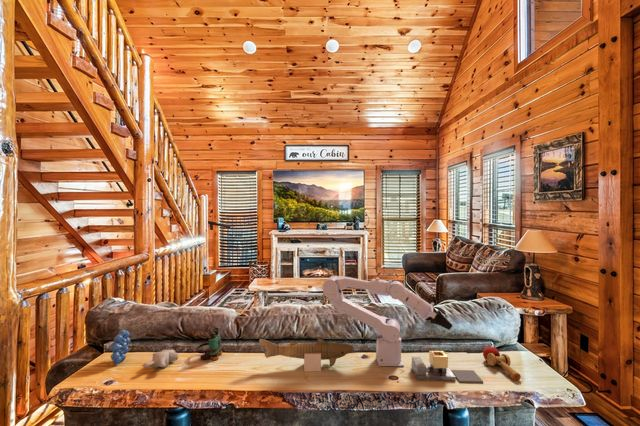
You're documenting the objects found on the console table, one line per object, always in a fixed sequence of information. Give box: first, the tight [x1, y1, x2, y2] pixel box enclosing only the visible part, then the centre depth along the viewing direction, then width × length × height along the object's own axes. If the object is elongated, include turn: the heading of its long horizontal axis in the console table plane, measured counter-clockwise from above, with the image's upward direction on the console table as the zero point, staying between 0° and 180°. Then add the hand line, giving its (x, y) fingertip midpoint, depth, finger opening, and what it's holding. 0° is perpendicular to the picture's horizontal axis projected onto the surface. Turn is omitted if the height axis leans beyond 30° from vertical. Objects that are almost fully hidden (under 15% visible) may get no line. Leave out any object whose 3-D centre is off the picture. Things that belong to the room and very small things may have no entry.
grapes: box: [109, 329, 132, 366], centre depth 132 cm, size 12×7×12 cm, turn 5°
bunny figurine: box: [142, 349, 179, 369], centre depth 130 cm, size 10×5×15 cm
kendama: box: [482, 346, 522, 382], centre depth 129 cm, size 8×6×18 cm
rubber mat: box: [450, 369, 484, 384], centre depth 122 cm, size 8×8×1 cm
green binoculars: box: [196, 327, 223, 361], centre depth 138 cm, size 9×11×10 cm
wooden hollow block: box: [428, 350, 449, 368], centre depth 124 cm, size 5×5×4 cm
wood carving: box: [258, 337, 354, 372], centre depth 129 cm, size 9×35×11 cm, turn 94°
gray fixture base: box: [410, 354, 457, 382], centre depth 124 cm, size 13×9×7 cm
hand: (448, 326), depth 129 cm, fingers open, 7 cm apart
